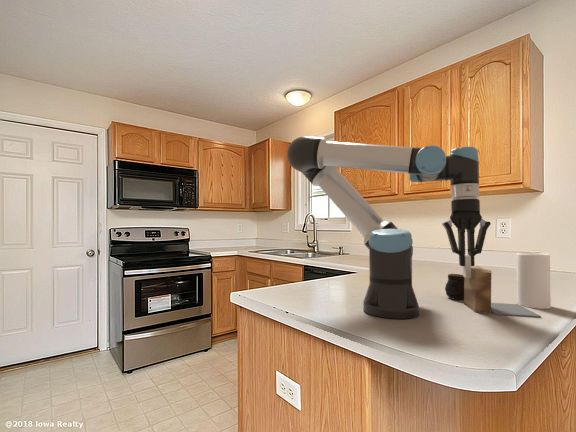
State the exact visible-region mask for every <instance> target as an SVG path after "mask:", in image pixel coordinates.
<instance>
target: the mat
mask: <svg viewBox="0 0 576 432" xmlns="http://www.w3.org/2000/svg"><path fill="white" fill-rule="evenodd" d="M491 314H493V315H496V316H509V317H526V318H542V317H541V316H542V315H539V314H538V313H536V312H534V311H532V310H530V309H528V308H527V307H525V306H521V305H519V304H516V303H504V302H503V303H501V302H500V303H499V302H491Z"/></svg>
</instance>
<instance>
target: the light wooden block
mask: <svg viewBox="0 0 576 432" xmlns="http://www.w3.org/2000/svg"><path fill="white" fill-rule="evenodd" d="M491 303H492V270H491V269H487V268H485V267H482V266H479V265H474V266H471V278H465V277H464V300H463V304H464V305H465V306H467V308H469V309H470V310H471V311H473V312H475V313H480V314H481V313H482V314H492V312H491Z"/></svg>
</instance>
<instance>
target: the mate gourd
mask: <svg viewBox="0 0 576 432" xmlns="http://www.w3.org/2000/svg"><path fill="white" fill-rule="evenodd" d="M444 289H445V295H446V296H447V297H448V298H449V299H451V300H458V301H462V300H463V301H464V277H463V274H459V273H448V274H447V282H446V284H445V288H444Z"/></svg>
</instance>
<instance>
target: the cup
mask: <svg viewBox="0 0 576 432" xmlns="http://www.w3.org/2000/svg"><path fill="white" fill-rule="evenodd" d="M551 297H552V296H551V254H550V253H549V254H548V253H542V252H541V253H539V252H516V301H517V302H516V303H517V304H518V305H520V306H522V307H524V308H532V309H537V310H538V309H540V310H542V309H543V310H544V309H545V310H548V309H551V308H552V306H551V305H552V302H551V301H552V299H551Z"/></svg>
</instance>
